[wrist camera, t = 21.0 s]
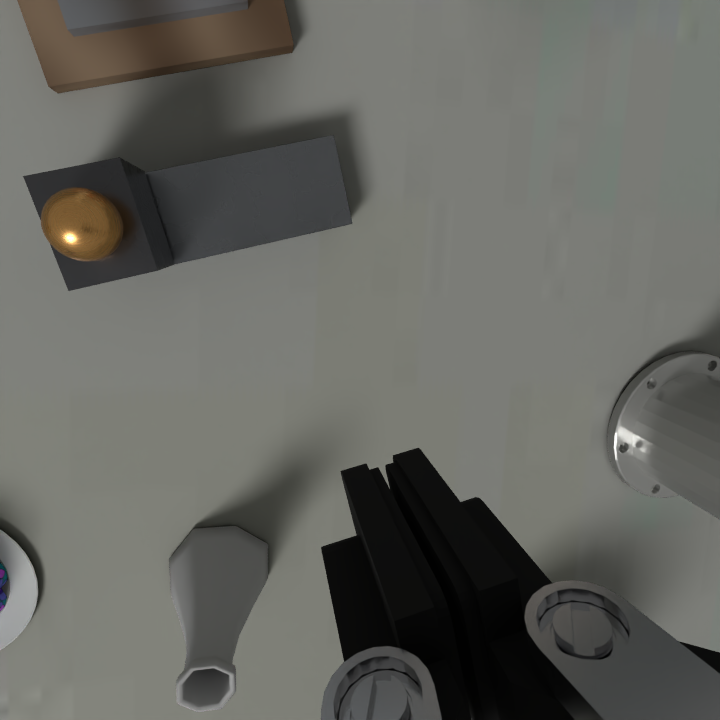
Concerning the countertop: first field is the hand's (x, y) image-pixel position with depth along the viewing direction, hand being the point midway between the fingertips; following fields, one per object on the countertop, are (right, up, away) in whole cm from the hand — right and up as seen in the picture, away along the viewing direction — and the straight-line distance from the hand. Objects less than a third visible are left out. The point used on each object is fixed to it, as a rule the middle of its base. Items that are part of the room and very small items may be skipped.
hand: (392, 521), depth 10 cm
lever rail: (-9, +12, +19) cm, 25 cm away
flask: (-11, -12, +25) cm, 30 cm away
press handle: (-14, +11, +16) cm, 24 cm away
